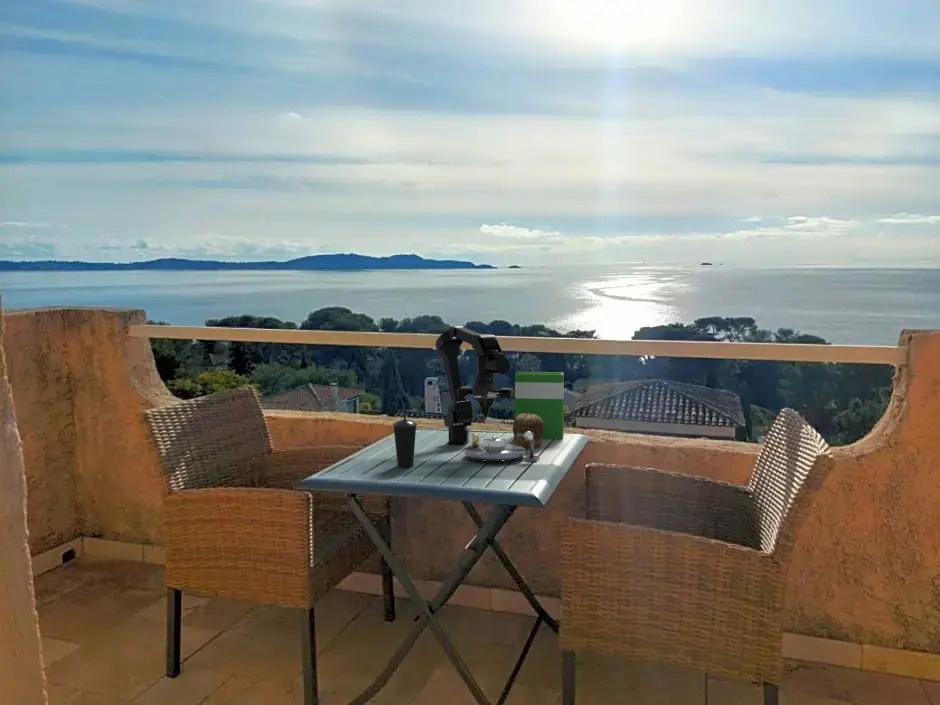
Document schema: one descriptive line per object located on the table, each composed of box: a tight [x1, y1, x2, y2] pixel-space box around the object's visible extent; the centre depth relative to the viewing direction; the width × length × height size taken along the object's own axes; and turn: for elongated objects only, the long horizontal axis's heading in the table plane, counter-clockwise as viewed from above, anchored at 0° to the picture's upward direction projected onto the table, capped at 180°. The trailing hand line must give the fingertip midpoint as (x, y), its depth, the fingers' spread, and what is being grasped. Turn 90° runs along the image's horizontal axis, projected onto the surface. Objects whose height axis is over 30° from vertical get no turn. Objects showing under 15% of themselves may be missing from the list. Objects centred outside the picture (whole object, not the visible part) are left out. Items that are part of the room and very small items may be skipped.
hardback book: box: [514, 371, 565, 440], centre depth 277 cm, size 18×7×24 cm, turn 81°
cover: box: [483, 435, 506, 452], centre depth 243 cm, size 7×7×4 cm
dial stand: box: [517, 431, 540, 463], centre depth 240 cm, size 7×5×10 cm
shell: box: [512, 413, 544, 450], centre depth 259 cm, size 11×11×12 cm
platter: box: [463, 433, 526, 461], centre depth 243 cm, size 20×20×5 cm
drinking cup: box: [392, 403, 418, 469], centre depth 232 cm, size 8×8×20 cm
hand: (485, 417), depth 251 cm, fingers closed
